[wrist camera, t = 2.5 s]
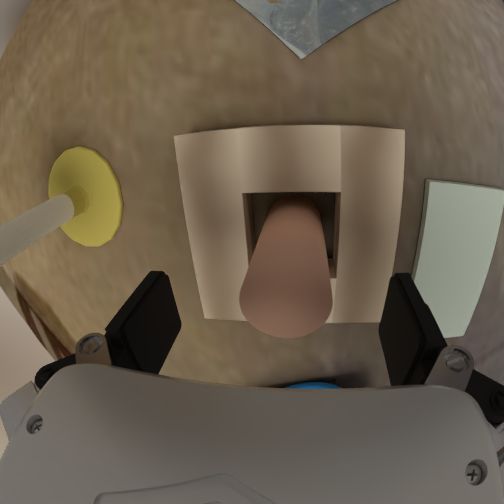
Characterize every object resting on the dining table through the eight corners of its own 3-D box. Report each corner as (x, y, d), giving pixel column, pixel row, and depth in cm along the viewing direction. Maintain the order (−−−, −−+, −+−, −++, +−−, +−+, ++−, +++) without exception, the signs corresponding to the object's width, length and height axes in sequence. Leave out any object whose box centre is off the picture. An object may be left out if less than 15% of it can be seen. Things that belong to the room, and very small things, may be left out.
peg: (321, 194, 19) (336, 263, 11) (320, 246, 21) (328, 339, 12) (265, 195, 20) (234, 262, 11) (268, 245, 22) (243, 336, 13)
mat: (500, 188, 16) (505, 190, 15) (460, 330, 22) (463, 335, 22) (425, 178, 17) (430, 181, 17) (395, 336, 24) (397, 342, 23)
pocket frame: (390, 127, 16) (404, 130, 14) (374, 299, 22) (381, 322, 20) (191, 132, 19) (173, 136, 16) (214, 297, 25) (204, 318, 22)
